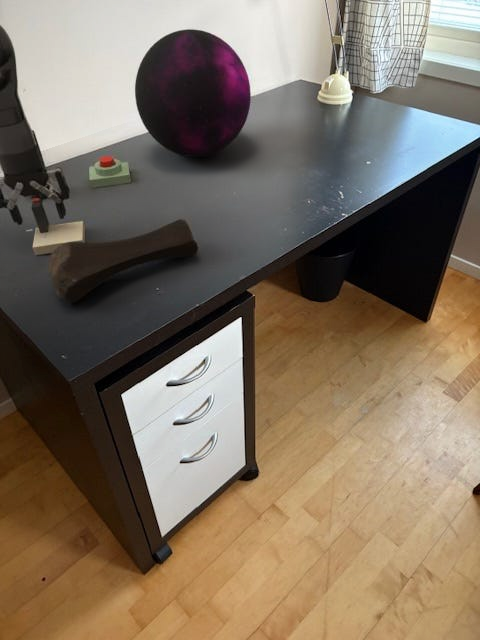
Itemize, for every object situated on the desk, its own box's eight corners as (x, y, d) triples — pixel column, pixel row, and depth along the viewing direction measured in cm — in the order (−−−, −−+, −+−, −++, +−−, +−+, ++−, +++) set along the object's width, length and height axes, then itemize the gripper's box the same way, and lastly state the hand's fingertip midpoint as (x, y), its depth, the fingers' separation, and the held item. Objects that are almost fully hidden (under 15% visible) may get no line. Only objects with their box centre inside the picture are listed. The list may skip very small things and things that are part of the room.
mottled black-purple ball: (270, 160, 129) (271, 33, 109) (165, 185, 120) (145, 52, 100) (225, 125, 149) (219, 13, 129) (133, 145, 140) (110, 27, 120)
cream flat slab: (26, 256, 98) (22, 248, 97) (30, 230, 106) (27, 221, 104) (84, 247, 100) (82, 239, 98) (85, 222, 108) (82, 213, 106)
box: (91, 188, 120) (87, 173, 118) (91, 174, 126) (87, 160, 123) (131, 182, 122) (128, 167, 119) (129, 169, 128) (126, 155, 125)
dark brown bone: (59, 314, 87) (195, 276, 100) (59, 287, 78) (207, 249, 91) (40, 265, 90) (174, 234, 103) (37, 233, 81) (184, 204, 94)
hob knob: (48, 232, 101) (38, 205, 97) (40, 233, 101) (30, 206, 97) (49, 223, 104) (40, 197, 100) (41, 224, 103) (32, 198, 99)
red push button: (100, 169, 120) (99, 162, 119) (100, 163, 123) (99, 157, 121) (115, 167, 120) (113, 160, 119) (114, 161, 123) (113, 155, 122)
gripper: (-29, 157, 86) (4, 234, 97) (52, 147, 88) (75, 223, 99) (-22, 141, 92) (8, 216, 103) (54, 132, 94) (76, 206, 105)
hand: (41, 220), depth 101 cm, fingers open, 8 cm apart
